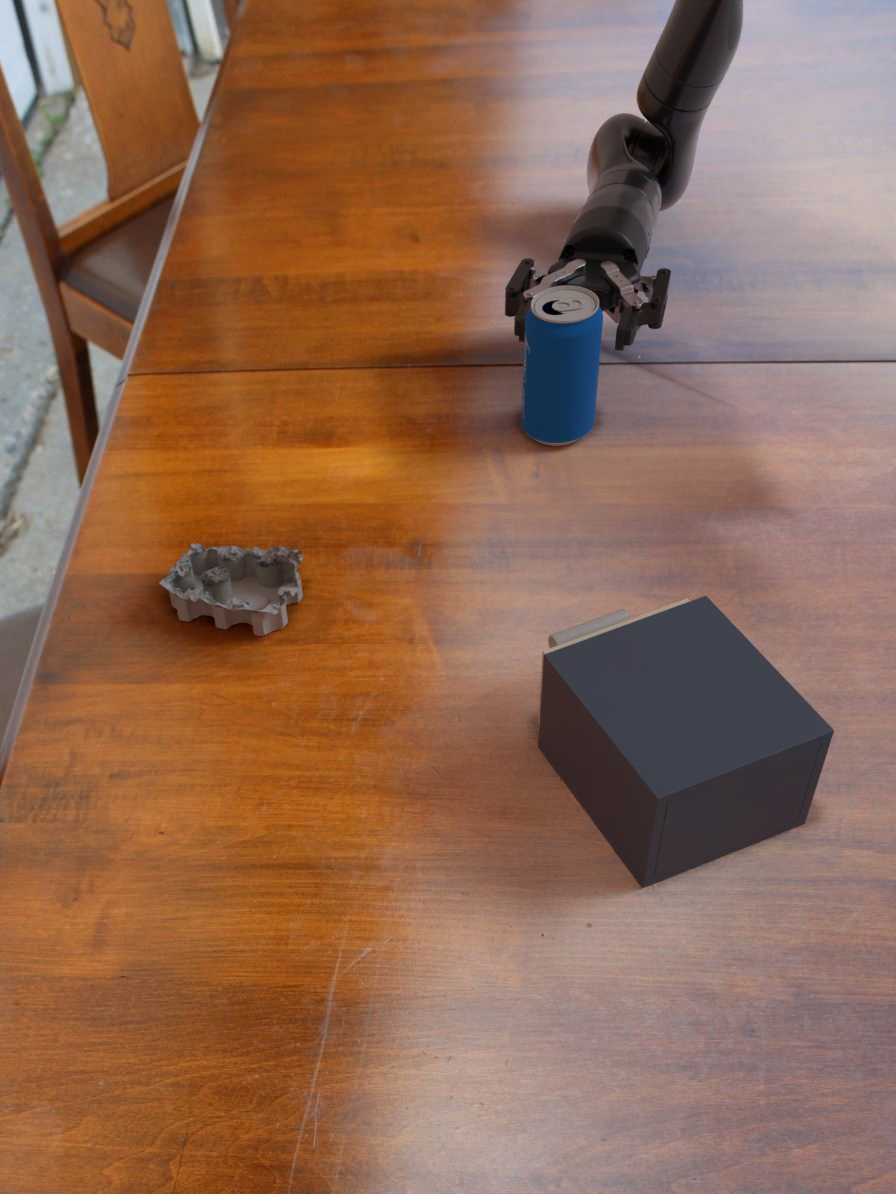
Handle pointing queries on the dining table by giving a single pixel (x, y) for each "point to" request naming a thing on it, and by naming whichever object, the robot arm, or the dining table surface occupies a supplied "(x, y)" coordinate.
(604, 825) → the cabinet
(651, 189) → the robot arm
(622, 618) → the drawer
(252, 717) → the dining table surface
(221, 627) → the egg carton
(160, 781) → the dining table surface
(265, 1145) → the dining table surface
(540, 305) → the beverage can
